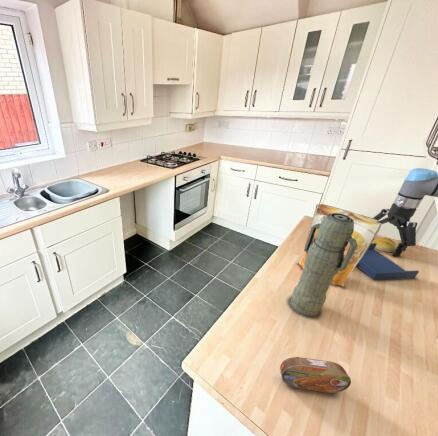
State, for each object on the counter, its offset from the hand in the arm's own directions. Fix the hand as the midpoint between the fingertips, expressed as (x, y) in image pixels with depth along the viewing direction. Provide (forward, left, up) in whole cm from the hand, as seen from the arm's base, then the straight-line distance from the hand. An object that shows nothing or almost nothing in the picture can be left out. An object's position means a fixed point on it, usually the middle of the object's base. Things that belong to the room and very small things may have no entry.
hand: (382, 246), depth 112 cm
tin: (+70, +56, 0) cm, 90 cm away
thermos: (+56, +32, 0) cm, 65 cm away
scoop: (+19, +11, 0) cm, 22 cm away
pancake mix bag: (+40, +16, 0) cm, 43 cm away
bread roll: (0, 0, 0) cm, 0 cm away
